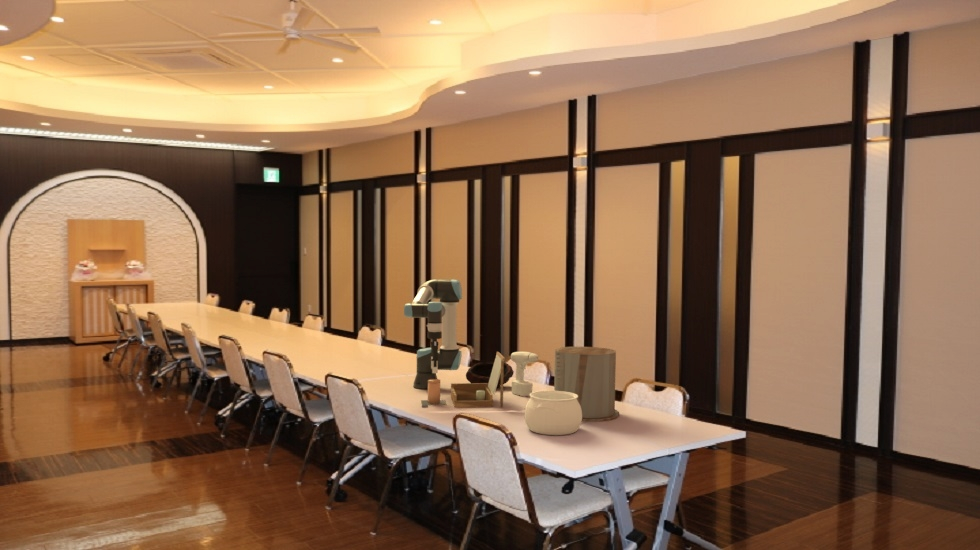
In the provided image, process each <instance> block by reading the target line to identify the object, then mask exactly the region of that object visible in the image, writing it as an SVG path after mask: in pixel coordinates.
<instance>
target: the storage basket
mask: <svg viewBox="0 0 980 550" xmlns="http://www.w3.org/2000/svg"><path fill="white" fill-rule="evenodd" d="M616 357H617V351H616V350H615V349H610V348H607V347H605V348H604V347H599V346H597V347H595V346H562V347H557V348H555V349H554V380H553V381H554V382H553V383H554V384H553V385H554V386H553V387H554V389H553V391H565V392H570V393H574V394H577V395H578V398H576V399H577V401H578V402H579V404H580V406H581V410H582V421H585V422H589V423H594V422H595V423H598V422H607V421H613V420H617V418H619V416H620V411H618V409H616V408H615V407H616V406H615V405H616V370H617V369H616V359H617V358H616Z"/></svg>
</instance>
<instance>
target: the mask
mask: <svg viewBox="0 0 980 550" xmlns="http://www.w3.org/2000/svg"><path fill="white" fill-rule="evenodd" d="M494 362H495V361H493V362H477V363H475V364H474V365H472V366H471V367H469V368H468V369H467V372H466V373H465V379H466V380H467V381H468V382H469V383H487V384H488V383H489V380H490V376H491V372H492V369H493V365H494ZM513 375H514V369H513V368H512V366H511V365H510V364H509V363H508V362H504V368H503V385H505V384H507V383H508V382H509V381H510V379H511V378H512V377H513ZM487 387H488V386H487ZM498 387H499V388H500V387H501V373H500V377H499V380H498V384H497V388H498Z"/></svg>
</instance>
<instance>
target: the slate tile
mask: <svg viewBox="0 0 980 550" xmlns="http://www.w3.org/2000/svg"><path fill="white" fill-rule="evenodd" d="M420 404H422V405H421V407H422V408H429V406H447V405H448V404H447V402H446V399H440V403H439V404H429V403H428V399H427V400H426V399H424V400H423V399H422V400H420Z"/></svg>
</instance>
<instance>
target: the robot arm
mask: <svg viewBox="0 0 980 550" xmlns="http://www.w3.org/2000/svg"><path fill="white" fill-rule="evenodd" d="M432 299H433V300H439V301H431V300H432ZM462 299H463V289H462V285H461V281H459V280H458V279H454V278H453V279H452V278H451V279H448V278H447V279H444V278H443V279H439V278H438V279H437V278H436V279H434V278H433V279H430V280H428V281H425V282H423V283H422V284H421V285H420V286H419V287H418V289H417V294H416V296H415V297H414V299H413V301H412V302H411V303H405V304H404V307H403V314H404V317H405V318H415V319H416V318H417V319H418V318H424V319H425V318H426V319H427V324H426V327H427V339H429V340H431V341H430V347H424V348H419V349H418V350H416V375H415V378H414V381H413V388H415V389H421V390H428V380H429V379H438V375H437V374H438V371H457V370H459V369H460V366H461V362H462V354H463V353H462V350H460V346H458V345H457V343H458V341H457V338H458V337H457V332H458V331H457V330H458V329H457V326H458V324H457V323H458V322H457V320H458V319H457V318H458V313H457V312H458V308H457V307H458V304H459V303H460V300H462ZM438 340H441V345H440V347H439V341H438Z"/></svg>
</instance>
